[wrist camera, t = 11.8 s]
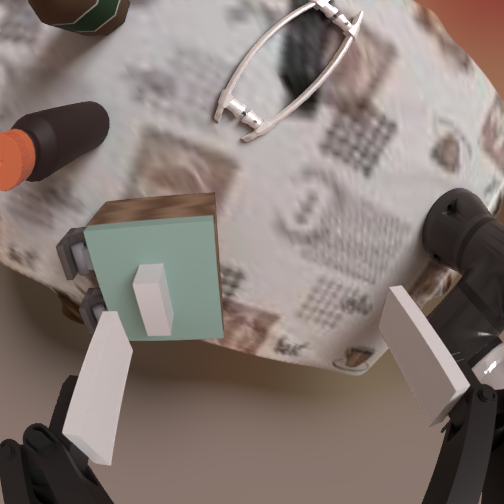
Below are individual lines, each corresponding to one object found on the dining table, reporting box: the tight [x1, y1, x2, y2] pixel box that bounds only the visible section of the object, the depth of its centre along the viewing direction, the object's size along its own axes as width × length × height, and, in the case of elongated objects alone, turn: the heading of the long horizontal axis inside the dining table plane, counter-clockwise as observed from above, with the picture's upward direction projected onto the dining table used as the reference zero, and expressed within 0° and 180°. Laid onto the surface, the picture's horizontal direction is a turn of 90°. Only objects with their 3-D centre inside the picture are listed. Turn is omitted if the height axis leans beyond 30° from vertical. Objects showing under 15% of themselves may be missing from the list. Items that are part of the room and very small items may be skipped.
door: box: [71, 215, 224, 341], centre depth 36 cm, size 18×18×6 cm
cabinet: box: [56, 193, 224, 335], centre depth 41 cm, size 20×18×10 cm
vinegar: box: [0, 101, 109, 191], centre depth 26 cm, size 7×7×20 cm
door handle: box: [214, 0, 364, 142], centre depth 33 cm, size 3×10×25 cm
